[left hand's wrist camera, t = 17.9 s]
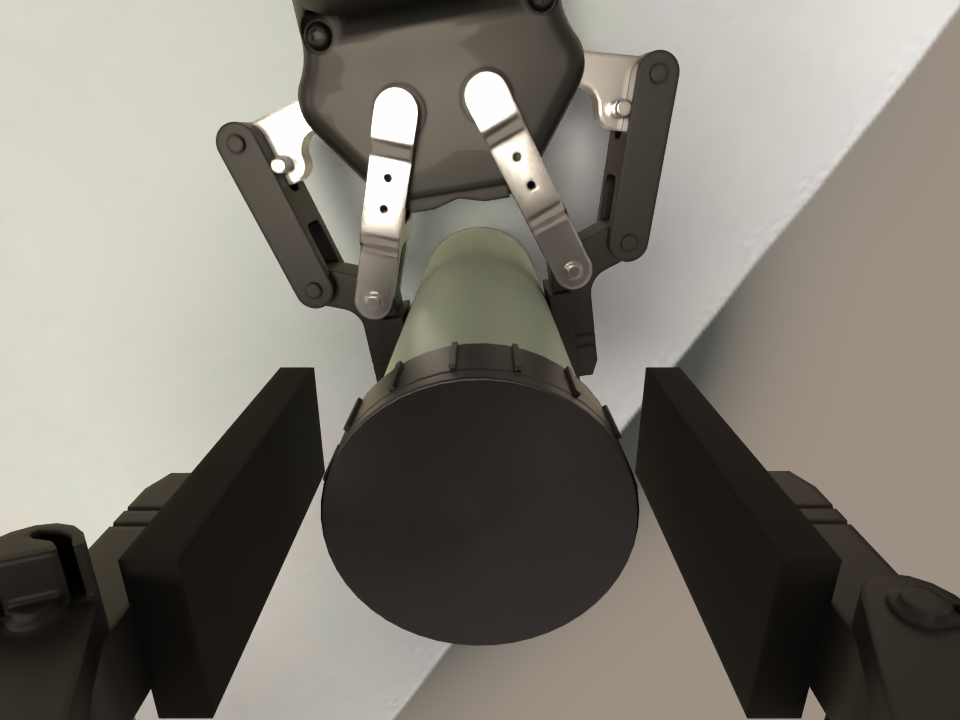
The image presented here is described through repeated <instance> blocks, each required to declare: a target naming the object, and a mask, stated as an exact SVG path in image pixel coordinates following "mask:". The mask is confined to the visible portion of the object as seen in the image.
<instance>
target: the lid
mask: <svg viewBox="0 0 960 720" xmlns="http://www.w3.org/2000/svg"><path fill="white" fill-rule="evenodd" d="M344 430H345V433H344V435H343V437H342V440H341V442H340V444H339V445H338V446H337V448H336V450H335V452H334V454H333V457H332V459H331V461H330V463H329V465H328V468H327V470H326V472H325V474H324V478H323V481H325V482H324V486H323V492H322V498H321V523H322V529H323V536H324V539H325V543H326V546H327V549H328V552H329V555H330V557H331V559H332V561H333V563H334V565H335V567H336V570H337V571H338V573H339V574H340V576H341V577H342V579H343V580H344V582H345V583H346V584H347V586H348V587H349V588H350V589H351V590H352V591H353V593H354V594H355V595H356V596H357V597H358V598H359V599H360V600H361V601H362V602H363V603H365V604H366V605H367V606H368V607H369V608H370V609H371V610H373V611H374V612H376V613H377V614H378V615H380V616H381V617H383V618H384V619H386V620H387V621H389V622H391V623H393V624H395V625H397V626H398V627H400V628H402V629H405V630H407V631H409V632H412V633H414V634H417V635H419V636H423V637H426V638H430V639H433V640H437V641H442V642H447V643H453V644H461V645H474V646H477V645H499V644H507V643H514V642H518V641H522V640H526V639H531V638H534V637H537V636H540V635H543V634H545V633H548V632H551V631H553V630H555V629H557V628H559V627H561V626H563V625H565V624H567V623H569V622H570V621H572V620H574V619H575V618H577V617H579V616H580V615H582V614H583V613H584V612H586V611H587V610H588V609H589V608H591V607H592V606H593V605H594V604H596V603H597V602H598V601H599V600H600V599H601V597H603V596H604V595H605V593H607V591H608V590H609V589H610V588H611V586H612V585H613V584H614V583H615V581H616V580H617V579H618V577H619V576H620V574H621V572H622V570H623V568H624V567H625V565H626V563H627V561H628V559H629V556H630V554H631V551H632V549H633V546H634V542H635V538H636V534H637V529H638V519H639V502H638V492H637V489H638V487H637V483H636V481H635V479H634V475H633V473H632V470H631V468H630V465H629V463H628V461H627V458H626V456H625V454H624V452H623V449H622V447H621V445H620V443H619V440H618V439H620V438H621V435H620V432H619V430H618V428H617V426H616V424H615V422H614V419H613V417H612V415H611V413H610V411H609V409H608V407H607V405H605V406H603V407H602V406H601V404H600V402H599V401H598V399H597V398H596V397H595V396H594V395H593V393H592V392H591V391H590V390H589V389H588V387H587V386H586V385H584V384H583V383H582V382H581V381H580V380H579V379H578V378H577V377H576V376H575V375H574V373H573V371H572V368H570V367H569V366H567V367H566V368H563V367H562V366H560V365H559V364H557V363H555V362H553V361H551V360H549V359H547V358H545V357H543V356H541V355H539V354H536V353H533V352H530V351H527V350H525V349H521V348H519V347H518V344H514V343H512V346H507V345H500V344H489V343H472V344H460V345H458V342H457V341H456V342H452V343H451V346H447V347H443V348H440V349H436V350H433V351H429V352H426V353H424V354H421V355H419V356H417V357H415V358H412V359H410V360H408V361H406V362H405V363H402V361H399V362H397V363H396V365H395V368H394V369H393V370H392V371H391V372H389V373H388V374H387V375H386V376H384V377H383V378H382V379H381V380H379V381H378V382H377V383H376V384H375V385H374V387H373V388H372V389H371V390H370V391H369V392H368V393H367V394H366V395H365V397H364V398H363V400H362V399H361V398H358V399H357V401H356V402H355V405H354V407H353V409H352V411H351V413H350V415H349V418H348V420H347V422H346V424H345V426H344Z"/></svg>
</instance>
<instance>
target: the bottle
mask: <svg viewBox="0 0 960 720" xmlns="http://www.w3.org/2000/svg"><path fill="white" fill-rule="evenodd" d="M456 341H457V342H458V345H460V344H472V343H489V344H500V345H507V346H512V343H514V344H518V347H519V348H521V349H525V350H527V351H530V352H533V353H536V354H539V355H541V356H543V357H545V358H547V359H549V360H551V361H553V362H555V363H557V364H559V365H560V366H562V367H563V368H566V367H567V366H569V367H570V368H572V365H571V363H570V360H569V358H568V355H567V352H566V350H565V347H564V345H563V342H562V340H561V337H560V335H559V332H558V329H557V327H556V324H555V322H554V319H553V317H552V314H551V312H550V309H549V306H548V304H547V301H546V299H545V296H544V294H543V291H542V288H541V286H540V283H539V281H538V278H537V276H536V273H535V271H534V268H533V265H532V263H531V261H530V258H529V256H528V255H527V253H526V251H525V250H524V249H523V247H522V246H521V245H520V244H519V243H518V242H517V241H516V240H515V239H513V238H512V237H510V236H509V235H507V234H505V233H503V232H501V231H498V230H496V229H491V228H484V227H476V228H469V229H465V230H462V231H459V232H457V233H455V234H453V235H451V236H450V237H448V238H446V239H445V240H444V241H443V242H442V243H441V244H440V245H439V246H438V247H437V248H436V250H435V251H434V253H433V254H432V256H431V258H430V260H429V263H428V265H427V268H426V270H425V273H424V275H423V278H422V281H421V283H420V286H419V288H418V291H417V293H416V296H415V298H414V301H413V304H412V306H411V309H410V311H409V314H408V316H407V319H406V321H405V324H404V327H403V329H402V332H401V334H400V337H399V339H398V342H397V344H396V347H395V349H394V352H393V355H392V357H391V360H390V362H389V365H388V367H387V370H386V372H385V375H384V376H386V375H387V374H388V373H389V372H391V371H392V370H393V369H394V368H395V365H396V363H397V362H399V361H402V363H405V362H406V361H408V360H410V359H412V358H415V357H417V356H419V355H421V354H424V353H426V352H429V351H433V350H436V349H440V348H443V347H447V346H451V343H452V342H456ZM572 371H573V373H574V370H573V368H572ZM574 375H575V373H574ZM575 376H576V375H575Z"/></svg>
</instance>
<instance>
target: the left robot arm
mask: <svg viewBox="0 0 960 720" xmlns="http://www.w3.org/2000/svg"><path fill="white" fill-rule="evenodd" d="M324 473H325V469H324V459H323V449H322V440H321V430H320V421H319V411H318V402H317V392H316V383H315V373H314V368H280V369H279V370H278V371H277V372H276V373H275V375H274V376H273V377H272V378H271V379H270V380H269V382H268V383H267V384H266V385H265V386H264V388H263V389H262V390H261V391H260V392H259V393H258V395H257V396H256V397H255V398H254V399H253V401H252V402H251V403H250V404H249V405H248V407H247V408H246V409H245V410H244V411H243V412H242V414H241V415H240V416H239V417H238V418H237V420H236V421H235V422H234V423H233V424H232V425H231V427H230V428H229V429H228V430H227V431H226V433H225V434H224V435H223V436H222V437H221V438H220V440H219V441H218V442H217V443H216V444H215V446H214V447H213V448H212V449H211V450H210V451H209V453H208V454H207V455H206V456H205V457H204V459H203V460H202V461H201V462H200V463H199V464H198V466H197V467H196V468H195V469H194V470H193V472H192V473H171V474H169V475H167V476H166V477H164V478H162V479H161V480H159V481H157V482H156V483H154V484H152V485H151V486H149V487H147V488H146V489H144V491H143V492H142V493H141V494H140V495H139V496H138V497H137V498H136V499H135V500H134V501H133V502H132V503H131V504H130V505H129V507H128V511H124V512H123V513H122V514H121V515H120V516H119V517H118V518H117V519H116V520H115V521H114V523H113V527H109V528H108V529H107V530H106V531H105V532H104V533H103V534H102V535H101V536H100V538H99V539H98V540H97V541H96V542H95V543H94V544H93V545H92V546H91V547H90V548H89V549H88V547H87V544H86V540H85V537H84V533H83V532H82V531H80V530H79V529H78V528H76V527H75V526H73V525H66V524H59V523H55V524H45V525H35V526H32V527H28V528H24V529H21V530H17V531H13V532H10V533H8V534H6V535H3V536H1V537H0V720H136V719H135V715H136V713H137V712H138V710H139V708H140V706H141V705H142V703H143V701H144V700H145V698H146V696H147V695H148V693H149V691H150V690H152V694H153V698H154V701H155V705H156V709H157V713H158V717H159V718H213V717H214V714H215V712H216V710H217V708H218V706H219V703H220V701H221V699H222V697H223V695H224V692H225V690H226V688H227V686H228V684H229V682H230V679H231V677H232V675H233V673H234V671H235V668H236V666H237V664H238V662H239V660H240V657H241V655H242V653H243V651H244V649H245V646H246V644H247V642H248V640H249V638H250V635H251V633H252V631H253V629H254V627H255V624H256V622H257V620H258V618H259V616H260V613H261V611H262V609H263V607H264V605H265V602H266V600H267V598H268V596H269V594H270V591H271V589H272V587H273V585H274V583H275V581H276V578H277V576H278V574H279V572H280V570H281V567H282V565H283V563H284V561H285V559H286V556H287V554H288V552H289V550H290V548H291V545H292V543H293V541H294V539H295V537H296V534H297V532H298V530H299V528H300V526H301V523H302V521H303V519H304V517H305V515H306V512H307V510H308V508H309V506H310V504H311V501H312V499H313V497H314V495H315V493H316V491H317V488H318V486H319V484H320V482H321V480H322V477H323V475H324ZM635 473H636V475H637V477H638V480H639V482H640V484H641V486H642V488H643V490H644V493H645V495H646V497H647V499H648V501H649V504H650V506H651V508H652V510H653V512H654V515H655V517H656V519H657V521H658V523H659V526H660V528H661V530H662V532H663V534H664V537H665V539H666V541H667V543H668V545H669V548H670V550H671V552H672V554H673V556H674V559H675V561H676V563H677V565H678V567H679V570H680V572H681V574H682V576H683V578H684V581H685V583H686V585H687V587H688V589H689V592H690V594H691V596H692V598H693V600H694V602H695V605H696V607H697V609H698V611H699V613H700V616H701V618H702V620H703V622H704V624H705V627H706V629H707V631H708V633H709V635H710V637H711V640H712V642H713V644H714V646H715V649H716V651H717V653H718V655H719V657H720V660H721V662H722V664H723V666H724V668H725V671H726V673H727V675H728V677H729V679H730V681H731V684H732V686H733V688H734V690H735V692H736V695H737V697H738V699H739V701H740V703H741V706H742V708H743V710H744V712H745V714H746V717H747V718H801V717H802V713H803V709H804V705H805V701H806V698H807V694H808V690H809V686H810V688H811V690H812V691H813V693H814V695H815V696H816V698H817V700H818V701H819V703H820V705H821V707H822V708H823V710H824V712H825V713H826V716H825V719H824V720H960V598H958V597H957V596H956V595H954V594H952V593H950V592H948V591H946V590H944V589H942V588H940V587H938V586H936V585H934V584H932V583H929V582H926V581H923V580H920V579H917V578H913V577H910V576H904V575H898V574H897V573H896V572H895V571H894V570H893V569H892V567H891V566H890V565H889V564H888V563H887V562H886V561H885V560H884V559H883V558H882V557H881V556H880V555H879V554H878V553H877V552H876V551H875V549H874V548H873V547H872V546H871V545H870V544H869V543H868V542H867V541H866V540H865V539H864V538H863V537H862V536H861V535H860V534H859V532H858V531H857V530H856V529H855V528H854V527H853V526H852V525H850V524H847V520H846V519H845V518H844V517H843V516H842V515H841V513H840V512H839V511H838V510H837V509H833V505H832V504H831V503H830V502H829V501H828V500H827V499H826V498H825V497H824V495H823V494H822V493H821V492H820V491H819V490H818V489H817V488H816V487H815V486H813V485H812V484H810V483H808V482H806V481H805V480H803V479H801V478H800V477H798V476H796V475H795V474H793V473H791V472H790V471H767V470H766V469H765V468H764V467H763V466H762V464H761V463H760V462H759V461H758V460H757V459H756V457H755V456H754V455H753V454H752V453H751V451H750V450H749V449H748V448H747V447H746V446H745V444H744V443H743V442H742V441H741V440H740V439H739V437H738V436H737V435H736V434H735V433H734V431H733V430H732V429H731V428H730V427H729V425H728V424H727V423H726V422H725V421H724V420H723V418H722V417H721V416H720V415H719V414H718V413H717V411H716V410H715V409H714V408H713V407H712V405H711V404H710V403H709V402H708V401H707V399H706V398H705V397H704V396H703V395H702V394H701V392H700V391H699V390H698V389H697V388H696V386H695V385H694V384H693V383H692V382H691V381H690V379H689V378H688V377H687V376H686V375H685V373H684V372H683V371H682V370H681V369H680V368H646V373H645V383H644V392H643V402H642V411H641V421H640V430H639V440H638V449H637V459H636V469H635Z"/></svg>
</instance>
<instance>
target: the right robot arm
mask: <svg viewBox="0 0 960 720" xmlns="http://www.w3.org/2000/svg"><path fill="white" fill-rule="evenodd" d="M292 1H293V5H294V10H295V14H296V18H297V23H298V27H299V31H300V35H301V39H302V44H303V51H304V65H303V72H302V77H301V80H300V84H299V89H298V101H296V102H294V103H292V104H290V105H287V106H285V107H283V108H281V109H279V110H277V111H275V112H273V113H271V114H269V115H267V116H264V117H262V118H260V119H258V120H256V121H254V122H252V123H247V122H230V123H227V124H225V125H223V126H222V127H221V128H220V129H219V131H218V133H217V136H216V146H217V149H218V151H219V153H220V155H221V157H222V159H223V161H224V163H225V164H226V166H227V168H228V170H229V172H230V174H231V175H232V177H233V179H234V181H235V183H236V185H237V187H238V188H239V190H240V192H241V194H242V196H243V198H244V199H245V201H246V203H247V205H248V207H249V209H250V211H251V212H252V214H253V216H254V218H255V220H256V222H257V223H258V225H259V227H260V229H261V231H262V233H263V235H264V236H265V238H266V240H267V242H268V244H269V246H270V247H271V249H272V251H273V253H274V255H275V257H276V259H277V260H278V262H279V264H280V266H281V268H282V270H283V271H284V273H285V275H286V277H287V279H288V281H289V283H290V284H291V286H292V288H293V290H294V292H295V294H296V295H297V297H298V299H299V300H300V301H301V303H303V304H304V305H306V306H307V307H310V308H321V307H324V306H330V307H336V308H341V309H346V310H349V311H351V312H353V313H354V314H356V315H357V316H358V317H359V318H360V319H361V321H362V323H363V325H364V328H365V332H366V336H367V341H368V345H369V349H370V353H371V358H372V362H373V365H374V371H375V374H376V379H377V382H378V381H379V380H381V379H382V378H383V377H384V375H385V372H386V370H387V367H388V365H389V362H390V360H391V357H392V355H393V352H394V349H395V347H396V344H397V342H398V339H399V337H400V334H401V332H402V329H403V327H404V324H405V321H406V319H407V316H408V314H409V311H410V309H411V306H410V301H409V300H406V301H402V296H401V291H400V289H401V284H402V277H403V271H404V264H405V258H406V251H407V245H408V240H409V236H410V231H411V226H412V220H413V213H414V212H420V211H427V210H433V209H436V208H438V207H440V206H442V205H445V204H447V203H449V202H451V201H453V200H456V199H459V198H461V199H470V200H479V201H489V200H495V199H501V198H508V197H510V196H509V194H511V193H512V194H513V196H514V198H515V200H516V202H517V204H518V206H519V208H520V210H521V212H522V214H523V216H524V218H525V220H526V222H527V224H528V226H529V227H530V229H531V231H532V233H533V235H534V237H535V239H536V241H537V243H538V245H539V247H540V249H541V251H542V253H543V255H544V257H545V259H546V261H547V270H548V278H549V279H547V280H543V286H544V295H545V299H546V301H547V304H548V306H549V309H550V312H551V314H552V317H553V319H554V322H555V324H556V327H557V329H558V332H559V335H560V337H561V340H562V342H563V345H564V347H565V350H566V352H567V355H568V358H569V360H570V363H571V365H572V368H573V370H574V373H575V375H576V377H577V378H578V379H579V380H580V377H579V376H584V375H591V374H593V371H594V368H595V365H596V362H597V353H596V345H595V334H594V322H593V311H592V301H591V287H592V284H593V282H594V280H595V278H596V277H597V276H598V275H599V274H600V273H601V272H602V271H604V270H606V269H608V268H609V267H611V266H613V265H615V264H617V263H619V262H621V261H624V262H630V261H634V260H636V259H638V258H639V257H641V256H642V255H643V254H644V252H645V251H646V249H647V246H648V241H649V236H650V230H651V225H652V219H653V214H654V209H655V203H656V198H657V192H658V187H659V181H660V176H661V171H662V165H663V160H664V154H665V149H666V144H667V138H668V133H669V127H670V122H671V117H672V111H673V106H674V100H675V95H676V90H677V84H678V79H679V64H678V61H677V60H676V58H675V57H674V55H672V54H671V53H670V52H668V51H665V50H656V51H653V52H649V53H646V54H644V55H641V56H631V55H621V54H611V53H600V52H590V51H583V47H582V44H581V42H580V40H579V38H578V36H577V35H576V34H575V32H574V31H573V29H572V28H571V26H570V24H569V22H568V20H567V18H566V16H565V13H564V10H563V7H562V3H561V0H292ZM577 88H581V89H583V90H585V91H586V92H587V93H588V94H589V95H590V97H591V99H592V102H593V115H594V119H595V121H596V123H597V124H598V125H599V126H600V127H601V128H603V129H605V130H610V131H611V132H610V139H609V145H608V152H607V158H606V165H605V171H604V178H603V184H602V191H601V197H600V204H599V210H598V217H597V223H595V224H593V225H591V226H589V227H587V228H585V229H584V230H582V231H580V232H578V233H577V232H576V230H575V228H574V226H573V224H572V222H571V220H570V218H569V216H568V213H567V210H566V208H565V205H564V203H563V201H562V199H561V197H560V195H559V193H558V191H557V189H556V187H555V185H554V183H553V181H552V179H551V177H550V174H549V172H548V170H547V168H546V166H545V164H544V162H543V160H542V156H543V154H544V152H545V150H546V148H547V146H548V144H549V142H550V140H551V139H552V137H553V135H554V133H555V131H556V129H557V127H558V125H559V123H560V121H561V119H562V117H563V115H564V113H565V112H566V110H567V108H568V106H569V104H570V102H571V100H572V98H573V96H574V94H575V92H576V90H577ZM315 133H316V134H317V135H318V136H319V137H320V138H321V139H322V140H323V141H324V142H325V143H326V144H327V145H328V146H329V147H330V148H331V149H332V150H333V151H334V152H335V153H336V154H337V155H338V156H339V157H340V158H341V159H342V160H343V161H344V162H345V163H347V164H348V165H349V166H350V167H351V168H352V169H353V170H354V171H355V172H356V173H357V174H358V175H359V176H360V177H361V178H362V179H363V180H364V181H365V182H366V190H365V198H364V206H363V214H362V222H361V230H360V245H361V252H360V260H359V265H354V264H349V263H344V261H343V259H342V257H341V255H340V253H339V251H338V249H337V247H336V245H335V243H334V241H333V239H332V237H331V235H330V233H329V231H328V229H327V227H326V225H325V223H324V221H323V219H322V217H321V215H320V213H319V211H318V209H317V207H316V206H315V204H314V202H313V200H312V198H311V196H310V194H309V192H308V190H307V188H306V186H305V184H304V182H303V181H304V180H305V179H307V178H308V177H309V175H310V173H311V171H312V159H311V156H310V153H309V143H310V140H311V138H312V137H313V135H314V134H315Z"/></svg>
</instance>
